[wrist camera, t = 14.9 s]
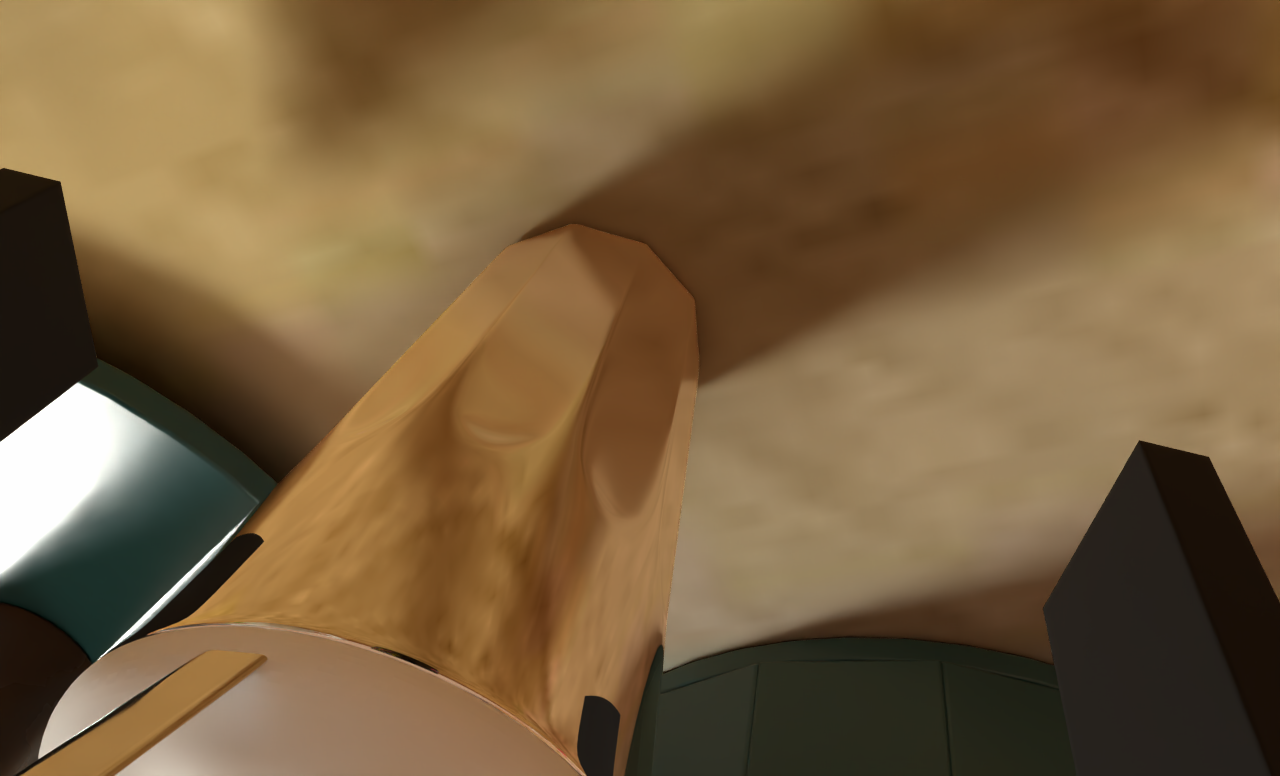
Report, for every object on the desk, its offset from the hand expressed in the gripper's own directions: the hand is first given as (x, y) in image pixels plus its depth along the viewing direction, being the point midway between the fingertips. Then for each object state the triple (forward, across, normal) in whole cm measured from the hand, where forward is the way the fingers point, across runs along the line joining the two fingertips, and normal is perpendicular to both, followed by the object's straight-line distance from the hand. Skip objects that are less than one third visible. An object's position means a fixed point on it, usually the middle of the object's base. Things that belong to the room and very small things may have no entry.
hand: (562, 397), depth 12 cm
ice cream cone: (+2, 0, 0) cm, 2 cm away
